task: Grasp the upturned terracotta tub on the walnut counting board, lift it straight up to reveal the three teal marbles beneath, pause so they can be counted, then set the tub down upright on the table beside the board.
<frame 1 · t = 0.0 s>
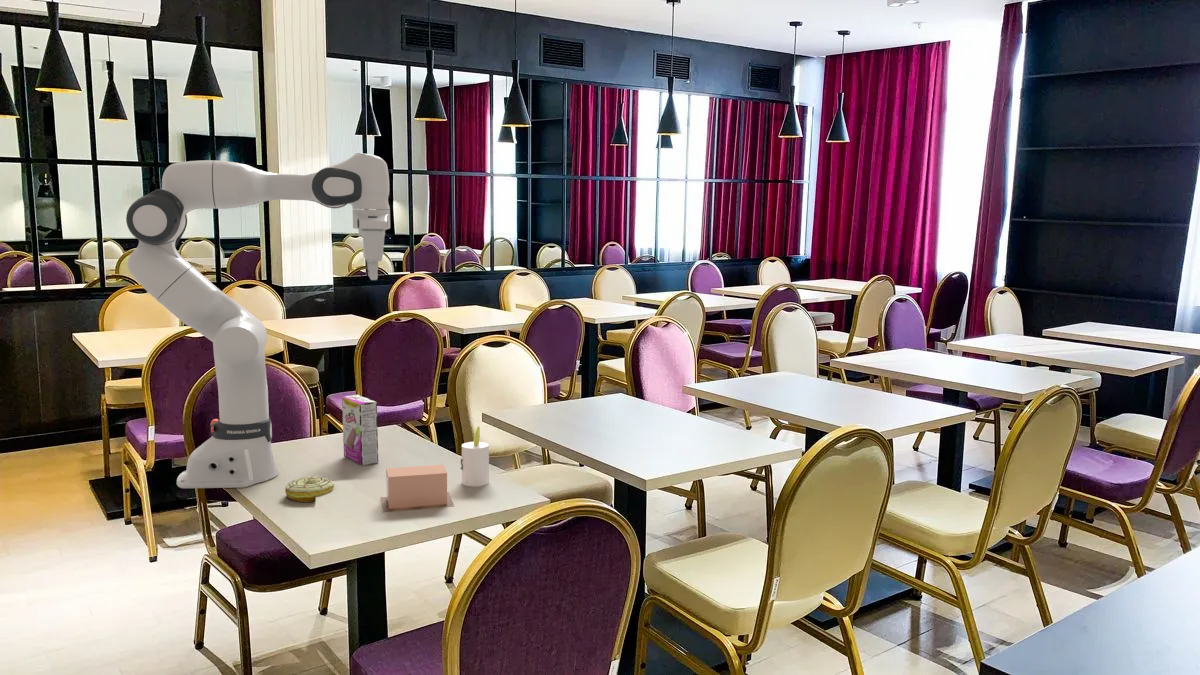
hand: (372, 278, 218), 48 cm above the table, fingers open, 8 cm apart
decorated donut: (310, 497, 203), on the table
candy bar box: (360, 461, 232), on the table
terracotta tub: (416, 501, 195), point 1 cm above the table, touching marble board
marble board: (416, 508, 195), on the table
candle: (475, 489, 209), on the table
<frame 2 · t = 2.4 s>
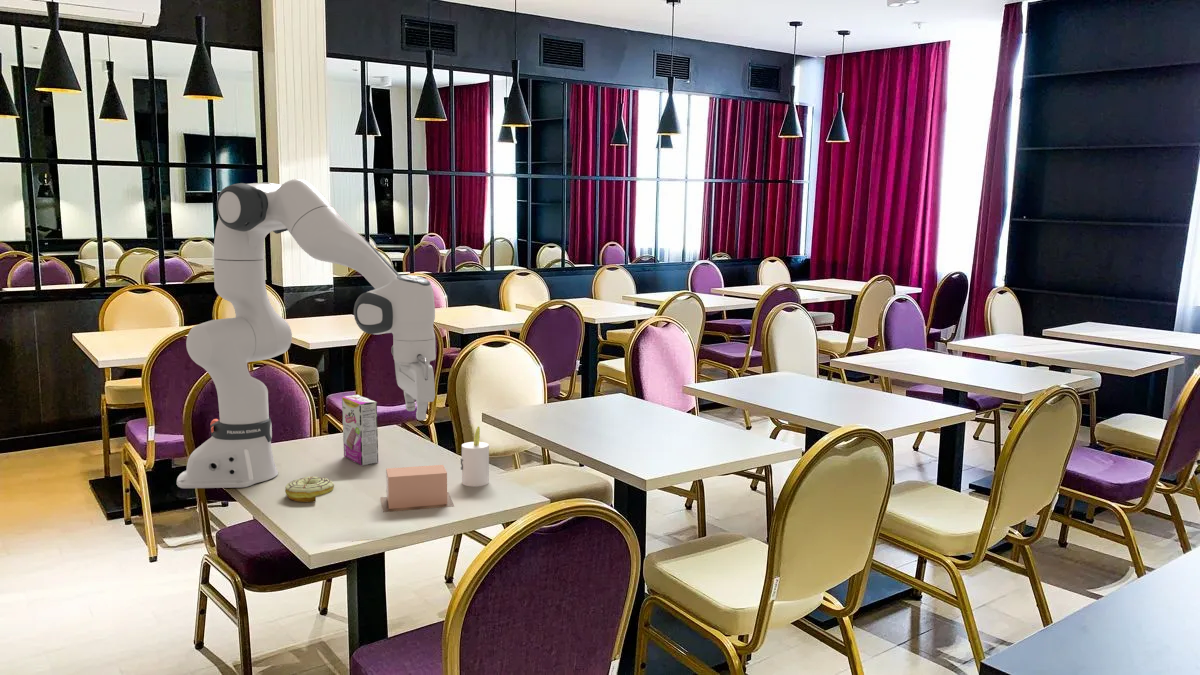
hand: (415, 415, 192), 21 cm above the table, fingers open, 8 cm apart
nothing on the table moved.
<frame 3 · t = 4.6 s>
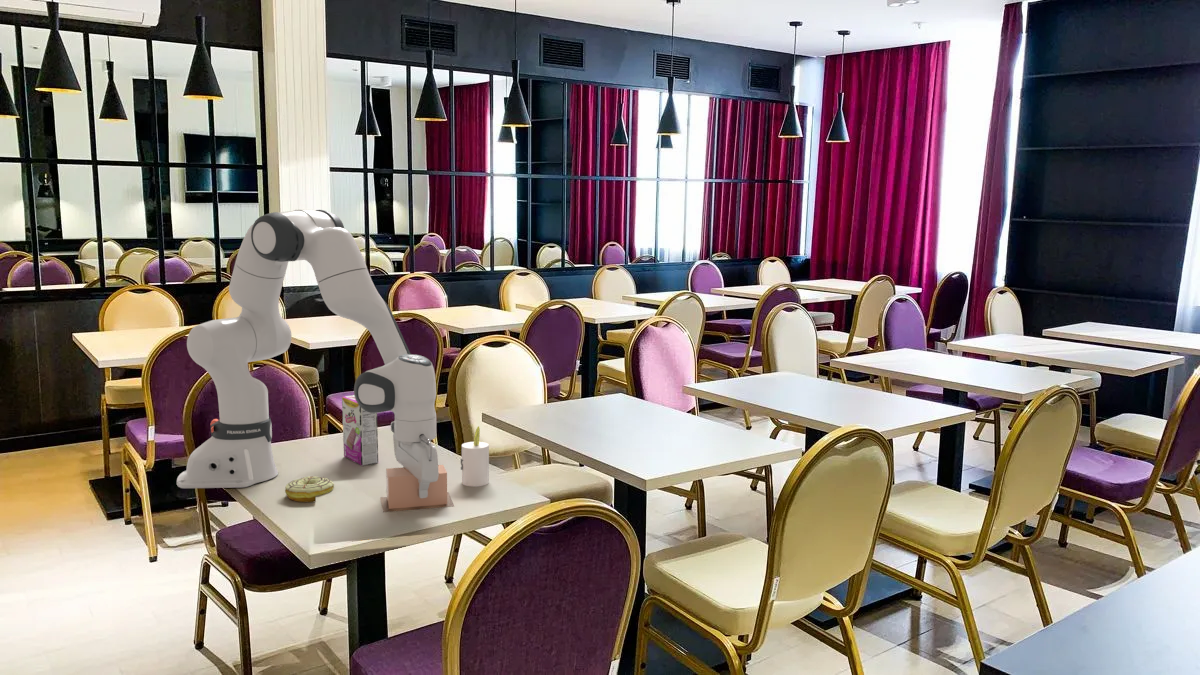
hand: (416, 491, 194), 4 cm above the table, fingers closed on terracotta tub, 7 cm apart
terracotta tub: (416, 501, 195), point 1 cm above the table, touching gripper, marble board
everything else where it was.
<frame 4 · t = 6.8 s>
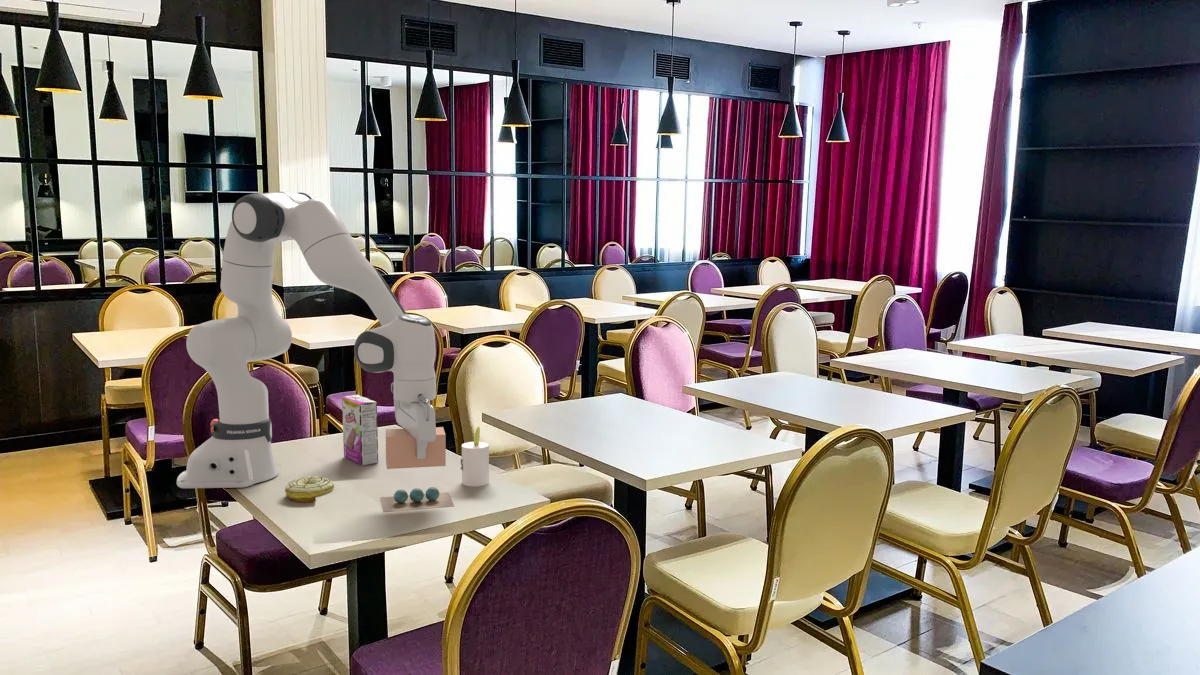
hand: (415, 452, 193), 12 cm above the table, fingers closed on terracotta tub, 7 cm apart
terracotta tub: (415, 463, 194), point 10 cm above the table, touching gripper
everything else where it was.
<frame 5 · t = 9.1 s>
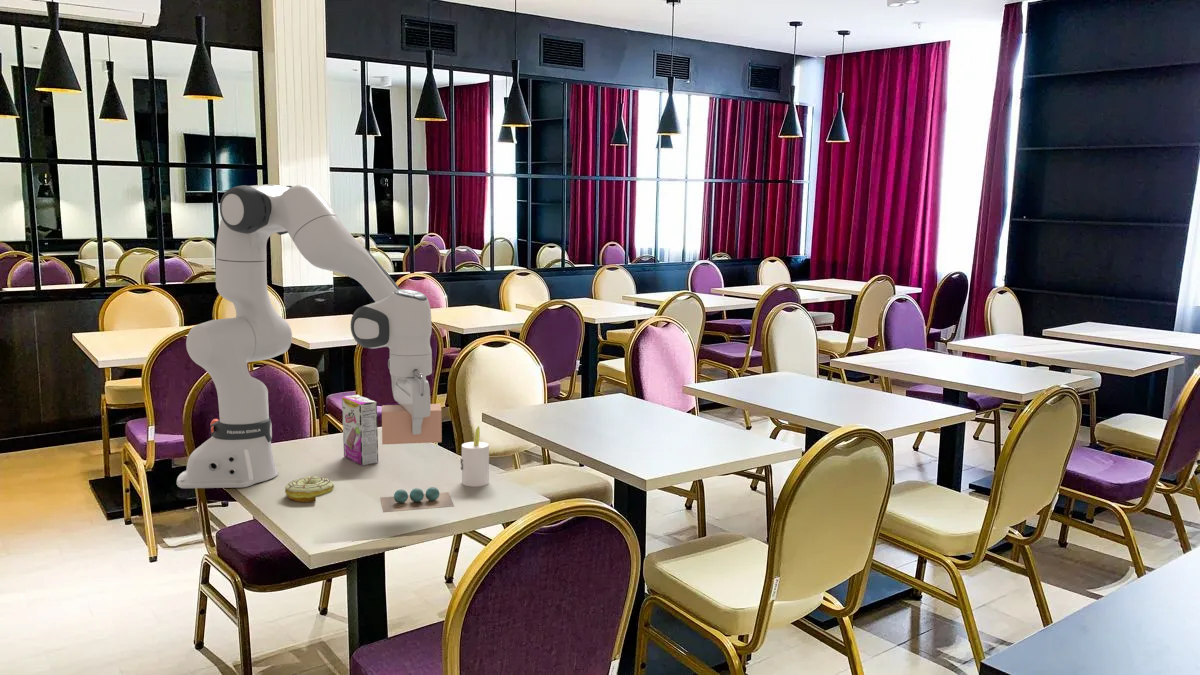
hand: (411, 429, 192), 18 cm above the table, fingers closed on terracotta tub, 7 cm apart
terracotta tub: (411, 439, 193), point 16 cm above the table, touching gripper
everything else where it was.
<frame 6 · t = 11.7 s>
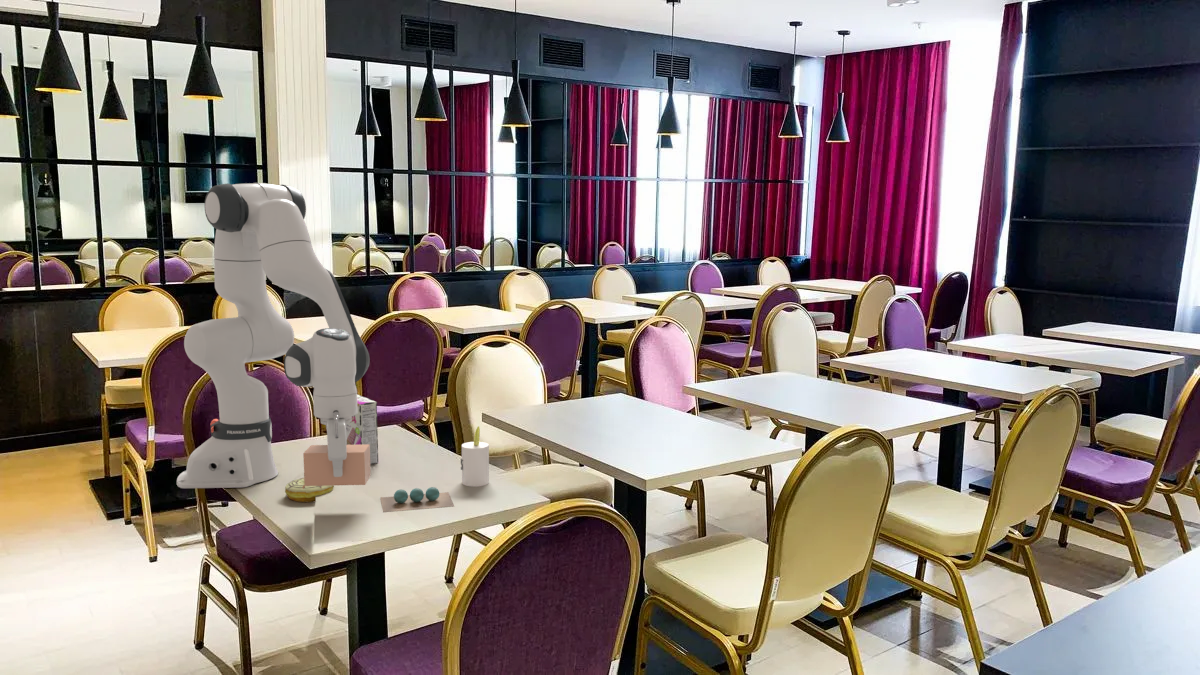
hand: (337, 470, 189), 10 cm above the table, fingers closed on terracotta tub, 7 cm apart
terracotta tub: (338, 480, 189), point 8 cm above the table, touching gripper
everything else where it was.
when the fingers open (4 cm above the table, at t = 13.9 s): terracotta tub drops 1 cm, on the table.
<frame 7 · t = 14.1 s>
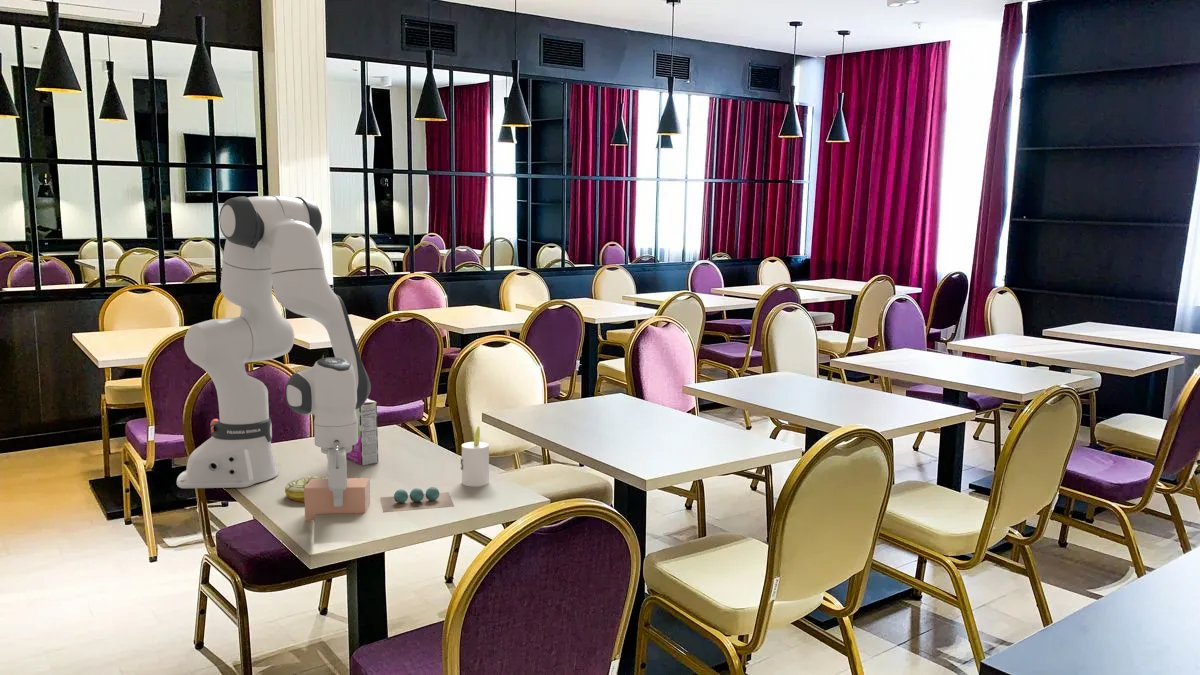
hand: (338, 498, 190), 4 cm above the table, fingers open, 8 cm apart
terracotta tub: (338, 514, 190), on the table
everything else where it was.
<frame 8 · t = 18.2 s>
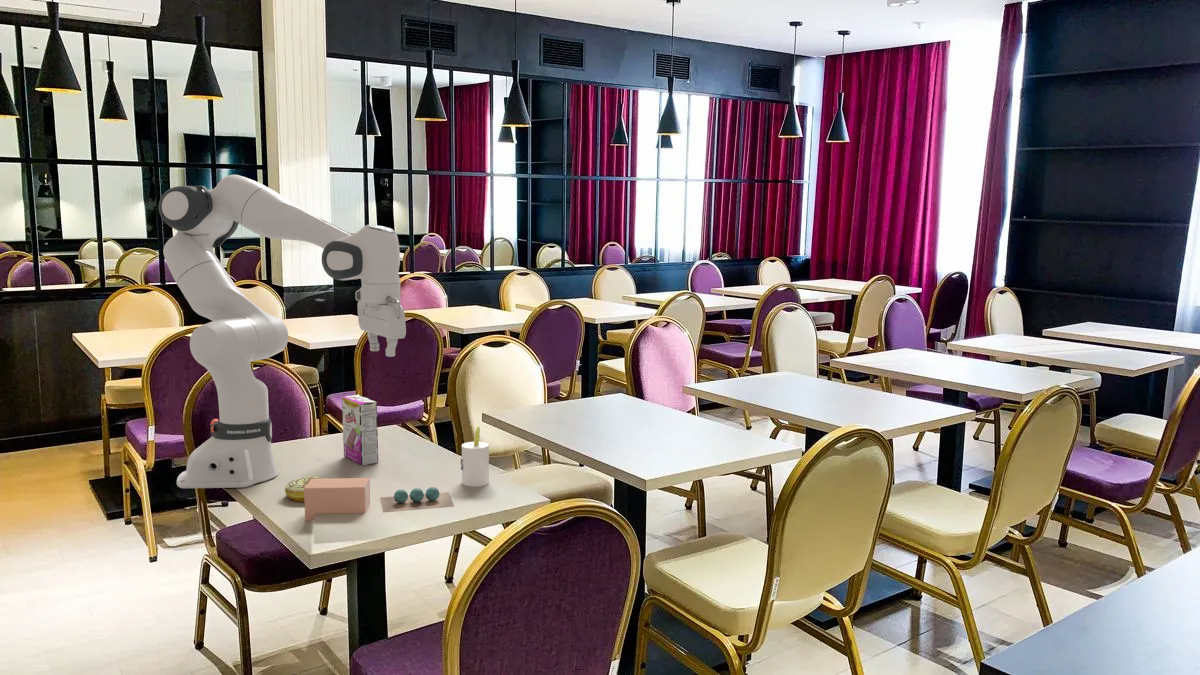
hand: (382, 353, 210), 31 cm above the table, fingers open, 8 cm apart
nothing on the table moved.
at the end: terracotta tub inside the target area (0.1 cm from its centre), on the table; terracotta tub tilted 0°; the gripper is holding nothing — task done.
